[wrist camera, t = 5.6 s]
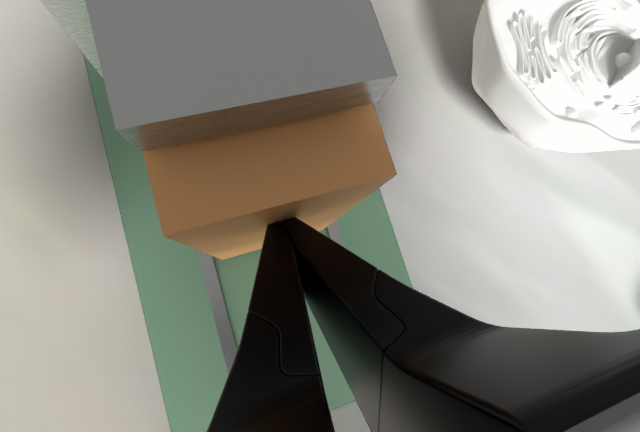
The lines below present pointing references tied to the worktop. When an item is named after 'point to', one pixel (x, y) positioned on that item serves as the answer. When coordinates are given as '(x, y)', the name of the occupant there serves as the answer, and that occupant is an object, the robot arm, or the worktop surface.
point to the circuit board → (235, 278)
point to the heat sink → (227, 73)
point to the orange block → (267, 179)
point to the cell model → (561, 71)
